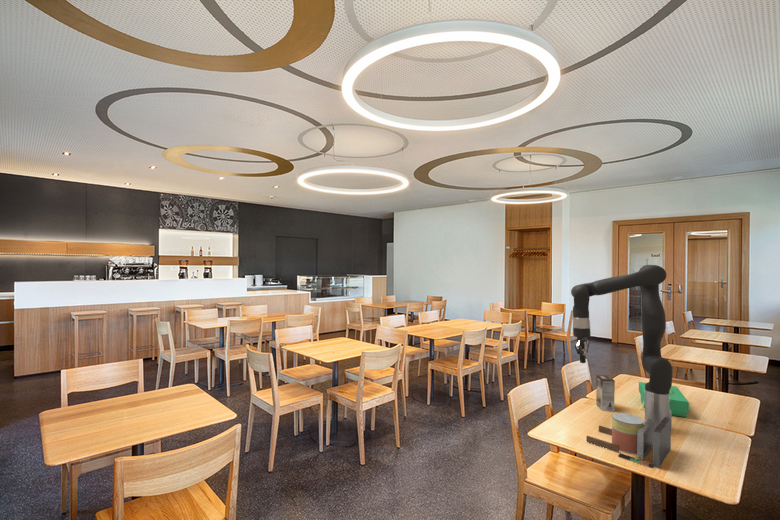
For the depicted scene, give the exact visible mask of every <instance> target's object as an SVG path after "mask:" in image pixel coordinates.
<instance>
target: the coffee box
mask: <svg viewBox="0 0 780 520" xmlns="http://www.w3.org/2000/svg"><path fill="white" fill-rule="evenodd" d="M595 380H596V383H595V384H596V386H595V387H596V390H595V393H596V396H595V397H596V398H595V400H596V402H595V404H596V406H597V407H598V408H599V410H601V411H603V412H615V393H616V392H615V388H616V387H615V385H616V380H615V379H613V378H612V377H611V376H610V375H605V374H596V379H595Z"/></svg>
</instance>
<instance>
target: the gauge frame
mask: <svg viewBox="0 0 780 520" xmlns="http://www.w3.org/2000/svg"><path fill="white" fill-rule="evenodd" d="M598 433H602V434H606V435H607V436H608V435H609V436H611V437H612V428H609V427H606V426H603V425H598ZM671 439H672V421H671V418H667V417H665V418H664V419H663V420H662V421H661V422H660V424H659V425H658V426H657V427H656V429H655V430H654V431H653V447H652V462H650V461H647V460H644V459H641V458H638V459H637V460H636V459H635V457H636V456H631V455H627V454H624V453H621V452H620V451H619V445H616V444H613V443H612V442H610V441H606V440H603V439H600V438H596V437H593V436H590V435H586V441H587V442H589V443H588V444H590V443H592V444H591V445H594V444H595V445H594V446H598V447H600V446H601V447H600V448H603V447H604V448H603V449H606V448H607V449H606V450H609V451H612V452H615V453H619V454H617V455H618V457H619V458H620V459H624V460H625V461H626V460H627V461H629V462H633V463H636V464H639V465H642V466H645V467H648V468H650V469H652V468H653V467H654V468H657V469H660V468H661V467H662V465H663V463H664V462H665V461H666V459H667V457H668V455H669V454H670V452H671V449H672V448H671V447H672V443H671V441H672V440H671ZM587 442H586V443H587Z"/></svg>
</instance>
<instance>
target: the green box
mask: <svg viewBox="0 0 780 520" xmlns="http://www.w3.org/2000/svg"><path fill="white" fill-rule="evenodd" d="M646 383H647V382H643V381H639V382H638V392H639V394H640V403H642V407H643V408H645V384H646ZM669 410H671V411H672V416H674V417H680V418H681V417H682V418H686V417H687V414H688V413H689V412H690V402H689V401H688V398H686V396H685V395H684V394H683V393H682V391H681V390H680V389H679V387H678V386H675V385H672V386H671V389H670V392H669Z"/></svg>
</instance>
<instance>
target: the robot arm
mask: <svg viewBox="0 0 780 520" xmlns="http://www.w3.org/2000/svg"><path fill="white" fill-rule="evenodd" d="M666 279H667V272H666V270H665V269H664V268H663V266H659V265H657V264H646V265H643V266H642V267H640V269H639V270H637V271H636V272H633V273H628V274H624V275H618V276H611V277H607V278H602V279H598V280H595V281H592V282H586V283H581V284H576V285H574V286H573V287H572V288H571V290H570V294H571V295H572V297H573V305H572V306H573V307H572V332H573V333H572V335H573V337H574V338H575V337H576V343H575V344H574V349H575V351H576V354H577V355H579V363H581V364H586V362H587V358H586V357H587V354H588V353H589V347H590V341H589V340H588V338H590V337H591V320H590V310H589V309H590V297H593V296H604V295H607V294H611V293H615V292H619V291H623V290H626V289H631V288H636V287H637V288H638V287H639V288H640V307H641V309H640V310H641V313H640V314H641V315H640V316H641V329H642V332H641V333H642V355H641V356H642V357H641V358H642V359H641V365H642V368H643V370H644V371H645V372H647V373H648V374H649V379H648V380H649V381H648V382H645V383H646V384H645V407H644V424H645V423H646V421H647V420H648V419H653V420H655V429H656V427H657V426H658V425H659V424H660V422H661V421H662V420H663V419H664V418H665V417H667V418H671V422H672V420H673V419H672V416H673V415H672V411H671V410H669V392H670V389H671V386H673V366H672V364H671V362H670V361H669V360H668V359H666V358H664V357H662V348H661V344H662V343H661V342H662V339H663V337H664V335H665V332H666V329H667V327H666V326H667V321H666V318H667V317H666V313H665V308H664V304H663V302H662V300H661V297H660V284H662V283H663V282H665V281H666Z"/></svg>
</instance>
